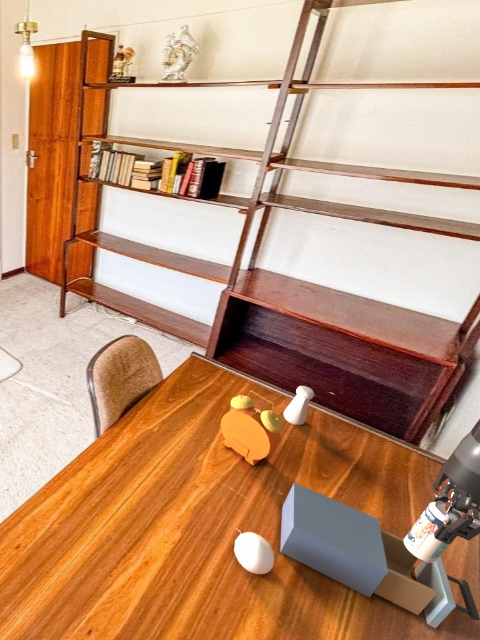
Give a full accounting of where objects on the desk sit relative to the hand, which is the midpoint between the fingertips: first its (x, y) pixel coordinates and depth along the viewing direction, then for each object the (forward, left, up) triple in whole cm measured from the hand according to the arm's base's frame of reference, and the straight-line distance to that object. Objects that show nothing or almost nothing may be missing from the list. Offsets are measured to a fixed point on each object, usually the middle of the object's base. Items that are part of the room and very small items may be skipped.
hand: (437, 527), depth 74 cm
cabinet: (+13, 0, -19) cm, 23 cm away
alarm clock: (+31, -20, -19) cm, 41 cm away
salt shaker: (+19, -42, -19) cm, 50 cm away
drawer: (0, 0, -18) cm, 18 cm away
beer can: (0, 0, -8) cm, 8 cm away
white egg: (+27, +11, -19) cm, 35 cm away
